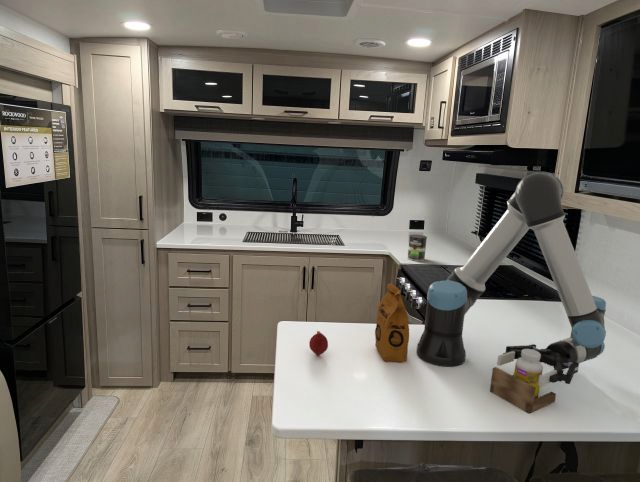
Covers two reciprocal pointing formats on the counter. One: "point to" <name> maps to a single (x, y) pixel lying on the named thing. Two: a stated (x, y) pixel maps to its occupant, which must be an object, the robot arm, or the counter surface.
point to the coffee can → (417, 247)
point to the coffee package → (392, 327)
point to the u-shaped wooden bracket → (518, 392)
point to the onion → (318, 343)
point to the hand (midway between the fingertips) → (518, 370)
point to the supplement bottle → (529, 368)
